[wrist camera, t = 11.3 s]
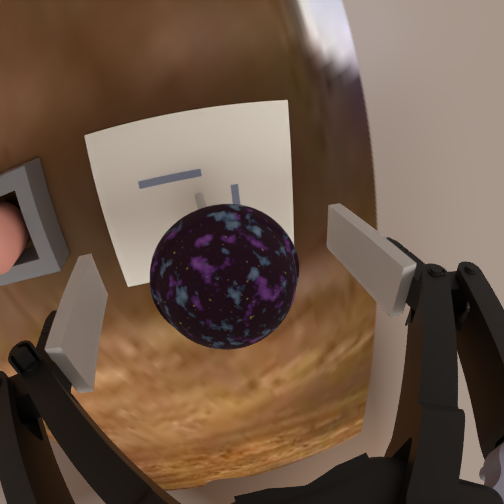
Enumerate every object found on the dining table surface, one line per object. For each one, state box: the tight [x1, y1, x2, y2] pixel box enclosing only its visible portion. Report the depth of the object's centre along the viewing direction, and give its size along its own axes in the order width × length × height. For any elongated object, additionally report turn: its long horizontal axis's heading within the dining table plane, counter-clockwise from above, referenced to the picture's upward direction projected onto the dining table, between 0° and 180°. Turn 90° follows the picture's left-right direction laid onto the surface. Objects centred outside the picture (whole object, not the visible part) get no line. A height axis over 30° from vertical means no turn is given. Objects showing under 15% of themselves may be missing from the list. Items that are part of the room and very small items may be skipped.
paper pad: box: [84, 100, 294, 287], centre depth 23 cm, size 14×16×1 cm
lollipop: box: [150, 193, 299, 349], centre depth 17 cm, size 7×7×15 cm
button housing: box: [0, 157, 70, 286], centre depth 18 cm, size 9×9×3 cm
